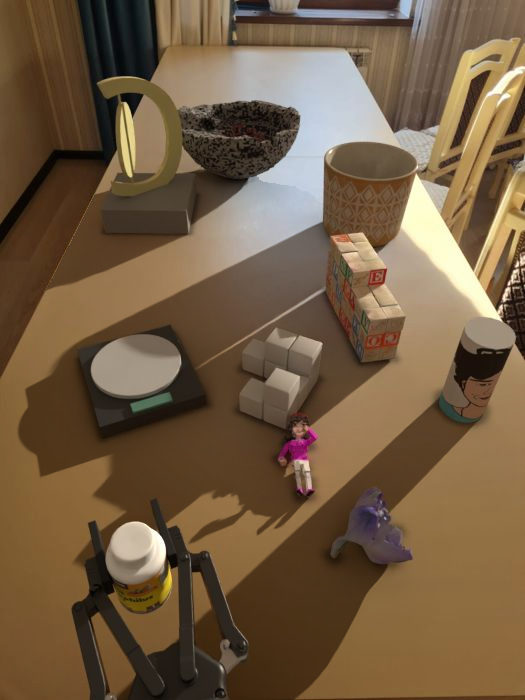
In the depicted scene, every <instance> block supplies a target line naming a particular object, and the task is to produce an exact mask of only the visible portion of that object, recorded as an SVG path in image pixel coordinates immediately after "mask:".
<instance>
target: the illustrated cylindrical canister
mask: <svg viewBox="0 0 525 700" xmlns="http://www.w3.org/2000/svg"><path fill="white" fill-rule="evenodd" d="M516 339H517V337H516V333H515V331H514V330H513V328H512V327H510V326H509V325H508V324H507V323H505V322H504V321H501V320H499V319H496V318H493V317H488V316H476V317H473V318H470V319H469V320H468V321H466V322H465V325H464V327H463V330H462V333H461V335H460V337H459V341H458V344H457V347H456V350H455V353H454V356H453V359H452V362H451V365H450V368H449V369H448V370H449V371H448V374H447V375H446V379H445V382H444V385H443V387H442V390H441V393H440V396H439V399H438V406H439V408H440V409H441V411H442V412H443V413H444V414H445V415H446V416H447V417H448V418H450V419H451V420H454V421H457V422H459V423H465V424H467V423H468V424H469V423H475V422H477V421H479V420H481V418H482V417H483V416H484V413H485V412H486V409H487V407H488V405H489V403H490V400H491V397H492V396H493V393H494V391H495V388H496V386H497V384H498V381H499V379H500V377H501V375H502V372H503V371H504V369H505V365H506V363H507V362H508V359H509V356H510V354H511V352H512V350H513V347H514V345H515V342H516Z"/></svg>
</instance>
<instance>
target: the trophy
mask: <svg viewBox="0 0 525 700" xmlns="http://www.w3.org/2000/svg"><path fill="white" fill-rule="evenodd" d="M96 86H97V87H98V89H99V90H100V92H101V94H102V96H103V97H104V98H105V99H107V100H109V99H112V98H113V97H115V96H117V100H118V105H117V107H116V112H115V140H116V143H115V144H116V150H117V151H116V153H117V157H118V163H119V167H120V170H121V172H117V173H116V175H115V177H114V179H113V180H110V188H109V190H108V192H107V195H106V197H105V199H104V201H103V203H102V204H101V205H102V206H101V207H100V209H99V211H100V215H101V220H102V225H103V230H104V233H105V234H169V235H170V234H171V235H172V234H173V235H174V234H178V235H179V234H180V235H185V234H186V235H188V234H190V229H191V223H192V220H193V214H194V209H195V203H196V198H197V187H196V174H195V173H177V172H178V169H179V166H180V163H181V158H182V153H183V146H182V127H181V121H180V117H179V114H178V111H177V110H178V108H177V106H176V104H175V102H174V101H173V99H172V98H171V96H170V95H169V94H168V93H167V92H166V90H164V89H163V88H161V86H159V85H157V84H155V82H154V83H153V82H151V81H149V80H147V79H144V78H140V77H138V76H137V77H136V76H123V75H122V76H113V77H107V78H105V79H102V80H100V81H98V82H96ZM127 93H128V94H129V93H134V94H140V95H144V96H146V97H147V98H148V99H150V100H151V101H152V102H153V103H154V104H155V106H156V108H157V109H158V111H159V113H160V115H161V117H162V120H163V121H162V122H163V125H164V129H165V130H164V131H165V151H164V156H163V160H162V163H161V165H160V167H159V169H158V170H157V171H156V172H135V169H136V168H135V167H136V137H135V127H134V121H133V117H132V113H131V109H130V106H129V104H128V103H127V102H126V101H122V98H121V95H122V94H127Z"/></svg>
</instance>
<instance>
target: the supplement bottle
mask: <svg viewBox="0 0 525 700" xmlns="http://www.w3.org/2000/svg"><path fill="white" fill-rule="evenodd" d="M105 554H106V566H107V570H108V572H109V575H110V577H111V580H112V583H113V587H114V591H115V594H116V596H117V599H118V601H119V603H120V604H121V606H122V607H123V608H124V609H125V610H126V611H127V612H129V613H131V614H133V615H141V616H142V615H149V614H152V613H154V612H156V611H158V610H159V609H161V608H162V607H163V606H164V605H165V603H167V601H168V600H169V598H170V596H171V593H172V589H173V577H172V572H171V567H170V564H169V561H168V558H167V552H166V548H165V544H164V541H163V539H162V537H161V536H160V534H159V532H157V531H156V530H154V529H153V528H151V527H150V526H149V525H148V524H146V523H144V522H140V521H130V522H126V523H124V524H122V525H121V526H119V527H117V528H116V530H115V531H114V532H113V533H112V535H111V537H110V540H109V544H108V546H107V549H106V551H105Z"/></svg>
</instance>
